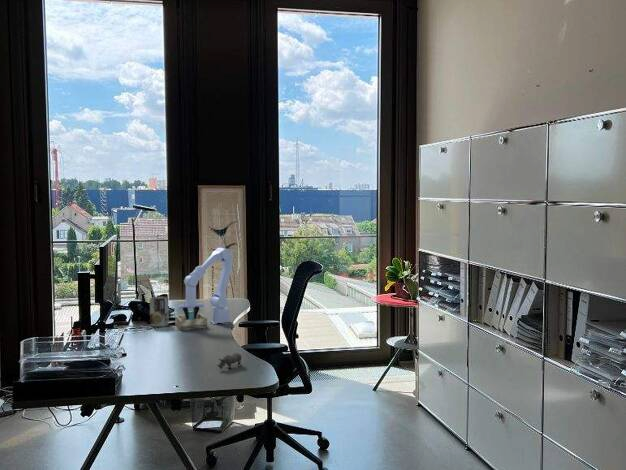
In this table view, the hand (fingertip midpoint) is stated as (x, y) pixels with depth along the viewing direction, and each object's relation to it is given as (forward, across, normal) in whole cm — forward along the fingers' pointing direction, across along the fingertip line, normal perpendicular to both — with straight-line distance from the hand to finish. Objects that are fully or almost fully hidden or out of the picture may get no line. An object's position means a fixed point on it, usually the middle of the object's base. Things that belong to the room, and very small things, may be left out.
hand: (191, 320), depth 332 cm
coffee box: (+4, -16, +10) cm, 19 cm away
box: (+3, 0, 0) cm, 3 cm away
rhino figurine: (+4, -1, -85) cm, 85 cm away
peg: (+2, 0, 0) cm, 2 cm away
